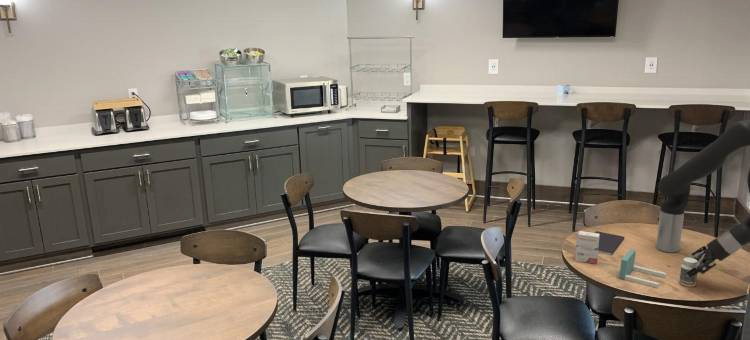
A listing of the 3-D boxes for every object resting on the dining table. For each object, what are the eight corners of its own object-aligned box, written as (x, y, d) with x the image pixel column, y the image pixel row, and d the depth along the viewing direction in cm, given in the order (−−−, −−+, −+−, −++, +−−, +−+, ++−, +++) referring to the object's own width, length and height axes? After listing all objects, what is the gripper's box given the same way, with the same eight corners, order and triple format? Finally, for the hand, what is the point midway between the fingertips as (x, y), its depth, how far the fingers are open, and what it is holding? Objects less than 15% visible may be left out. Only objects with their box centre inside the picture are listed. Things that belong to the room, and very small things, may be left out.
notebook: (611, 256, 254) (624, 239, 270) (612, 253, 253) (624, 236, 270) (581, 249, 261) (595, 234, 278) (581, 246, 260) (595, 230, 277)
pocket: (665, 276, 234) (668, 257, 232) (657, 288, 225) (660, 268, 223) (628, 267, 242) (630, 249, 240) (619, 278, 233) (621, 259, 231)
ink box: (597, 259, 250) (600, 233, 247) (596, 264, 246) (599, 237, 242) (576, 256, 254) (578, 230, 250) (574, 260, 249) (576, 234, 246)
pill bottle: (697, 287, 225) (701, 263, 222) (681, 286, 226) (684, 262, 223) (693, 280, 230) (696, 257, 227) (677, 279, 231) (680, 256, 228)
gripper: (713, 231, 226) (676, 255, 233) (721, 245, 213) (682, 271, 220) (727, 245, 226) (689, 269, 233) (736, 261, 213) (696, 286, 220)
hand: (686, 270), depth 227 cm, fingers open, 8 cm apart
